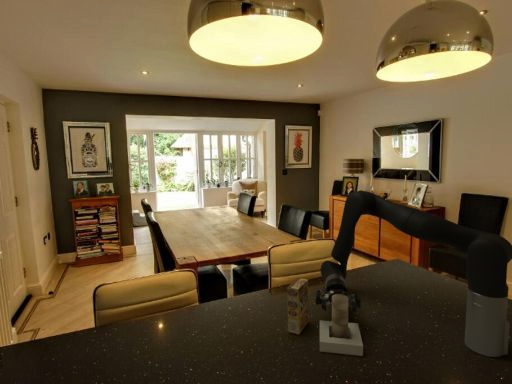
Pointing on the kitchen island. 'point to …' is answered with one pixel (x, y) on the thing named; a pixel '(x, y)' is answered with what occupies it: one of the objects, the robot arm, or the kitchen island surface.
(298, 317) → the candy box
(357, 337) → the socket block
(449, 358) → the kitchen island surface
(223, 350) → the kitchen island surface
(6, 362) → the kitchen island surface
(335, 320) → the peg
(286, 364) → the kitchen island surface
